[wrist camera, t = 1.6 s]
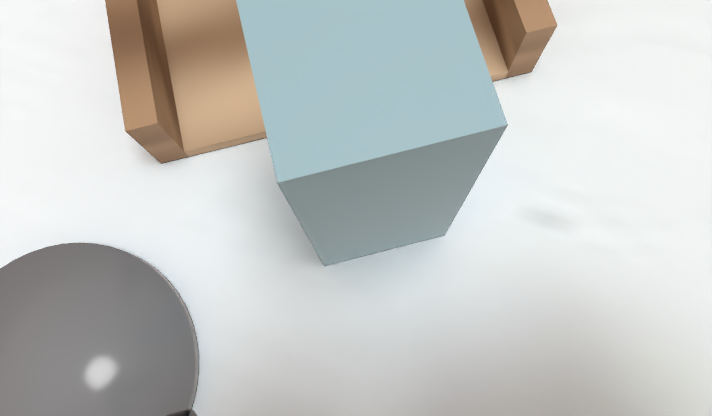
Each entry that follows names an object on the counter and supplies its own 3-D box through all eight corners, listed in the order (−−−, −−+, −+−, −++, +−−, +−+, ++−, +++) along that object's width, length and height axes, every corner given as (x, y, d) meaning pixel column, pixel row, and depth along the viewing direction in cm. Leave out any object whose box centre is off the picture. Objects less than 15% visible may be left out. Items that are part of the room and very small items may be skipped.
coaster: (121, 565, 20) (113, 571, 19) (-110, 448, 21) (-124, 451, 20) (241, 301, 22) (238, 299, 21) (27, 210, 23) (17, 206, 23)
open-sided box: (531, 71, 24) (557, 25, 21) (161, 163, 23) (125, 131, 20) (468, -97, 26) (482, -163, 23) (130, -17, 26) (93, -73, 22)
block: (444, 235, 22) (507, 124, 12) (324, 266, 22) (277, 182, 12) (411, 124, 24) (440, -66, 13) (297, 152, 23) (232, -17, 13)
